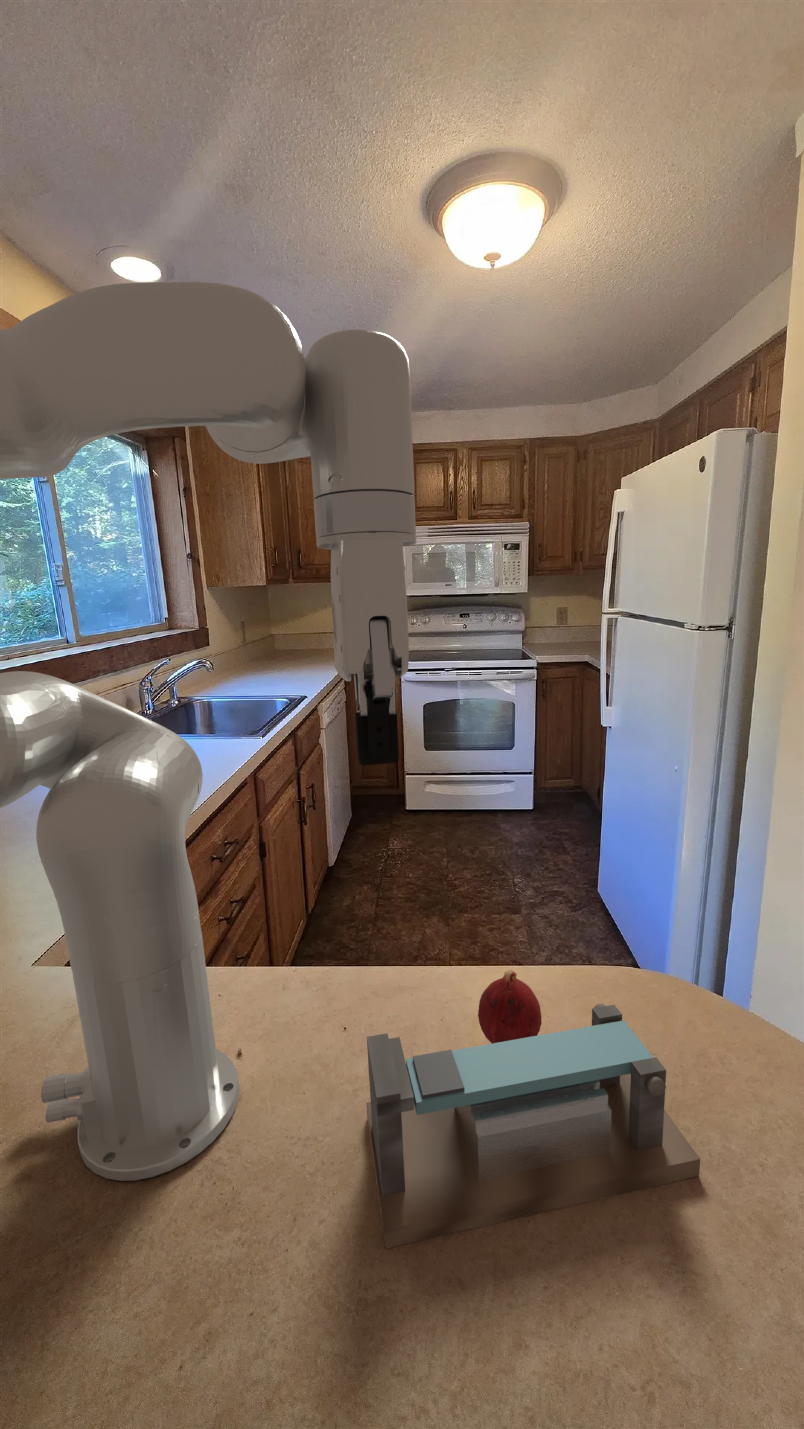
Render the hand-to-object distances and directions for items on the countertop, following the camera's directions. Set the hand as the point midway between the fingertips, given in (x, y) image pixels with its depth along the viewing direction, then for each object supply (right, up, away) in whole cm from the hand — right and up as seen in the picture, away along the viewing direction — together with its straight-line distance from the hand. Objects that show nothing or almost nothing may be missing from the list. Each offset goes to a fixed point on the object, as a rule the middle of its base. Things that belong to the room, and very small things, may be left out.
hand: (378, 760), depth 47 cm
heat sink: (+12, -28, -2) cm, 31 cm away
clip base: (+11, -30, -2) cm, 32 cm away
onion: (+12, -28, +8) cm, 31 cm away
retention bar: (+12, -23, -3) cm, 26 cm away
